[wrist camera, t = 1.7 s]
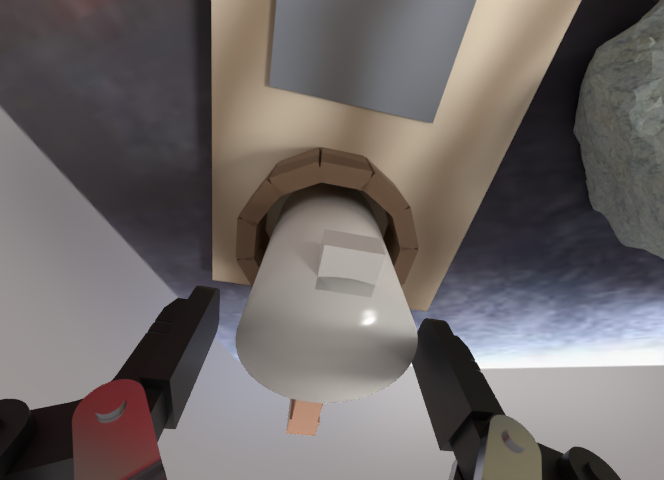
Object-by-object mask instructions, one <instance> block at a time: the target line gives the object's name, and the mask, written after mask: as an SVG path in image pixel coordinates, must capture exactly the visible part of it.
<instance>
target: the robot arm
mask: <svg viewBox="0 0 664 480" xmlns="http://www.w3.org/2000/svg"><path fill="white" fill-rule="evenodd" d="M219 303H220V290H219V289H218V288H211V287H204V286H196V287H195V289H194V290H193V292H192V293H191V295H190V297H189V298H188V299H181V298H177V299H176V300H175V301H173V302H172V303H171V304H169V305H167V306H166V307H164V309H163V310H162V312H161V313H160V314H159V316H158V317H157V319H156V320H155V323H153V324H152V326H151V327H150V329H149V330H148V333H146V334H145V336H144V337H143V339H142V340H141V341H140V343H139V344H138V346H137V347H136V348H135V350H134V351H133V353H132V354H131V355H130V357H129V358H128V360H127V361H126V363H125V364H124V365H123V367H122V368H121V370H120V371H119V372H118V374H117V375H116V376H115V378H114V379H113V380H112V381H111V382H108V383H106V384H103V385H101V386H100V387H98V388H96V389H95V390H93V391H92V392H90V393H89V394H88V395H87V396H86V397H85V398H83V399H80V400H77V401H74V402H70V403H64V404H59V405H54V406H50V407H44V408H39V409H34V410H30V409H29V408H28V406H27V405H26V403H24V402H23V401H20V400H17V399H3V400H0V480H167V478H166V474H165V470H164V467H163V464H162V460H161V456H160V452H159V448H158V444H157V442H158V440H159V438H160V436H161V434H162V431H163V429H164V428H166V429H176V427H177V424H178V422H179V419H180V417H181V415H182V412H183V410H184V408H185V405H186V403H187V401H188V398H189V396H190V394H191V391H192V389H193V387H194V384H195V382H196V380H197V377H198V375H199V372H200V370H201V368H202V365H203V363H204V361H205V358H206V356H207V354H208V351H209V349H210V347H211V344H212V342H213V339H214V337H215V335H216V332H217V328H218V324H219ZM417 335H418V345H417V349H416V353H415V356H414V358H413V360H412V364H413V367H414V370H415V373H416V377H417V380H418V383H419V386H420V389H421V392H422V395H423V399H424V402H425V405H426V408H427V411H428V414H429V417H430V420H431V423H432V426H433V430H434V432H435V436H436V439H437V442H438V445H439V448H440V450H443V451H453V452H454V454H455V457H456V460H455V461H454V462H453V465H452V468H451V473H450V476H449V480H621V479H620V478H619V476H618V475H617V474H616V473H615V472H614V470H613V469H612V468H611V467H610V466H609V465H608V464H607V463H606V462H605V461H603V460H602V459H601V458H600V457H598V456H597V455H595V454H594V453H592V452H591V451H589V450H587V449H584V448H582V447H573V448H571V449H570V450H569V451H567V452H566V453H565V454H563V453H560V452H558V451H556V450H553V449H551V448H549V447H546V446H544V445H542V444H539V443H537V442H536V441H535V439H534V438H533V436H532V435H531V434H530V433H529V431H528V430H527V429H526V428H525V427H524V426H523V425H521V424H520V423H519V422H517V421H516V420H514V419H513V418H511V417H508V416H506V415H505V413H504V412H503V410H502V408H501V406H500V404H499V402H498V401H497V399H496V398H495V395H494V393H493V392H492V390H491V388H490V386H489V384H488V383H487V381H486V379H485V377H484V375H483V374H482V373H481V372H480V368H479V366H478V365H477V363H476V362H475V359H474V357H473V355H472V354H471V352H470V350H469V348H468V347H467V346H466V345H465V344H464V343H463V341H462V340H461V339H460V338H459V337H458V336H455V335H453V333H452V331H451V329H450V327H449V325H448V323H447V322H446V321H443V320H435V319H428V318H426V319H424V320H423V322H422V324H421V326H420V328H419V330H418V332H417Z"/></svg>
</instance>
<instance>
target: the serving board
mask: <svg viewBox="0 0 664 480" xmlns="http://www.w3.org/2000/svg"><path fill="white" fill-rule="evenodd" d="M580 2H581V0H211V22H212V268H213V280H217V281H224V282H230V283H237V284H244V285H251V286H252V287H253V285H254V282H255V279H256V276H257V274H258V271H259V268H260V266H261V263H262V260H263V258H264V255H265V252H266V250H267V247H268V244H269V241H270V239H271V236H272V233H273V231H274V228H275V225H276V223H277V220H278V217H279V215H280V212H281V209H282V207H283V205H284V203H285V201H286V200H287V198H288V197H289V196H290V195H291V194H292V193H293V192H294V191H297V190H300V189H303V188H306V187H309V186H312V185H315V184H318V183H321V182H322V183H327V184H332V185H337V186H342V187H347V188H353V189H357V190H358V191H359V192H360V193H361V194H362V195H363V196H364V197H365V198H366V199H367V201H368V202H369V204H370V206H371V208H372V211H373V214H374V216H375V219H376V222H377V224H378V227H379V229H380V232H381V235H382V237H383V240H384V243H385V245H386V248H387V251H388V253H389V256H390V259H391V261H392V264H393V267H394V269H395V272H396V275H397V277H398V280H399V283H400V285H401V288H402V291H403V293H404V296H405V299H406V301H407V304H408V307H409V309H414V310H421V311H428V309H429V307H430V305H431V303H432V300H433V298H434V296H435V294H436V292H437V290H438V288H439V286H440V284H441V282H442V280H443V278H444V276H445V274H446V272H447V270H448V268H449V266H450V264H451V262H452V260H453V258H454V256H455V254H456V252H457V250H458V248H459V246H460V244H461V242H462V240H463V238H464V236H465V234H466V232H467V230H468V228H469V226H470V224H471V222H472V220H473V218H474V216H475V214H476V212H477V210H478V208H479V206H480V204H481V202H482V200H483V198H484V196H485V194H486V192H487V190H488V188H489V186H490V184H491V182H492V180H493V178H494V175H495V173H496V171H497V169H498V167H499V165H500V163H501V161H502V159H503V157H504V155H505V153H506V151H507V149H508V147H509V145H510V143H511V141H512V139H513V137H514V135H515V133H516V131H517V129H518V127H519V125H520V123H521V121H522V119H523V117H524V115H525V113H526V111H527V109H528V107H529V105H530V103H531V101H532V99H533V97H534V95H535V93H536V91H537V89H538V87H539V85H540V83H541V81H542V79H543V77H544V75H545V73H546V71H547V69H548V67H549V65H550V63H551V61H552V59H553V57H554V55H555V53H556V50H557V48H558V46H559V44H560V42H561V40H562V38H563V36H564V34H565V32H566V30H567V28H568V26H569V24H570V22H571V20H572V18H573V16H574V14H575V12H576V10H577V8H578V6H579V4H580Z"/></svg>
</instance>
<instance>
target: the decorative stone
mask: <svg viewBox="0 0 664 480" xmlns="http://www.w3.org/2000/svg"><path fill="white" fill-rule="evenodd" d="M573 132H574V134H575V136H576V138H577V140H578V141H579V143H580V147H581V157H582V161H583V165H584V168H585V169H586V170H585V173H586V177H587V180H586V184H587V188H588V192H589V200H590V202H591V205H592V207H593V210H596V211H598V212H601V213H602V214H603V215H604V216H605V217H606V218H607V220H608V221H609V223H610V227H611V228H612V229H613V230H614V233H615V235H616V237H617V238H618V239H619V241H620V242H621V243H622V244H623V245H624V246H626V247H634V248H640V249H645V250H646V251H648V252H650V253H652V254H654V255H657V256H660V257H661V258H662V259H664V0H660V1H659V2H658V3H657V4H656V5H655V6H654V7H653V8H652V9H651V10H650V11H649V12H648V13H646V14H645V15H644V16H643V17H642V18H641V19H640V21H639V22H637V23H636V24H634V25H633V26H631V27H630V28H628V29H627V30H625V31H624V32H622V33H621V34H619V35H617V36H616V37H614V38H612V39H610V40H609V41H607V42H605V43H604V44H603V45H601V46H600V47H599V48H597V49H596V52H595V54H594V57H593V58H592V60H591V61H590V63H589V65H588V68H587V71H586V73H585V76H584V79H583V81H582V84H581V89H580V95H579V101H578V106H577V111H576V118H575V125H574V129H573Z"/></svg>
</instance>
